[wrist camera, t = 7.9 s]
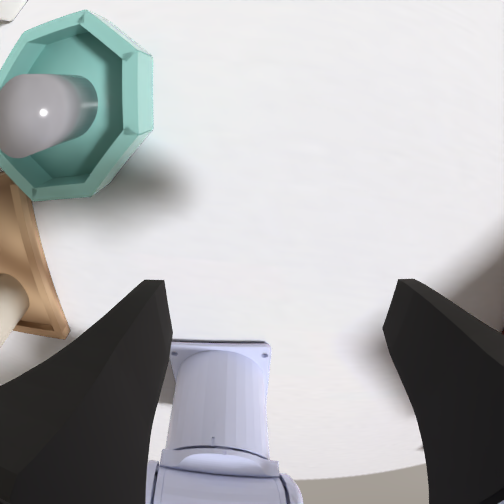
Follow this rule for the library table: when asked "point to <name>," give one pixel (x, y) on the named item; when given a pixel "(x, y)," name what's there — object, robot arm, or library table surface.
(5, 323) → the pebble light
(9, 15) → the milk carton
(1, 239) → the tray
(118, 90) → the dish
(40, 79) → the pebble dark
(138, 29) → the library table surface
